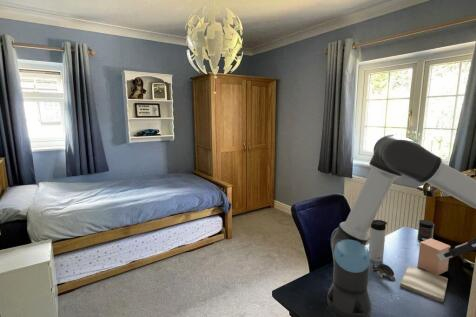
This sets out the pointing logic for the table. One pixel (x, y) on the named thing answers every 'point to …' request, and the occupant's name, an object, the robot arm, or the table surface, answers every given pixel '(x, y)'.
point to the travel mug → (377, 241)
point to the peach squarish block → (432, 256)
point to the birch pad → (424, 283)
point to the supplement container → (425, 230)
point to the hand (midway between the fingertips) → (448, 253)
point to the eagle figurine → (384, 270)
